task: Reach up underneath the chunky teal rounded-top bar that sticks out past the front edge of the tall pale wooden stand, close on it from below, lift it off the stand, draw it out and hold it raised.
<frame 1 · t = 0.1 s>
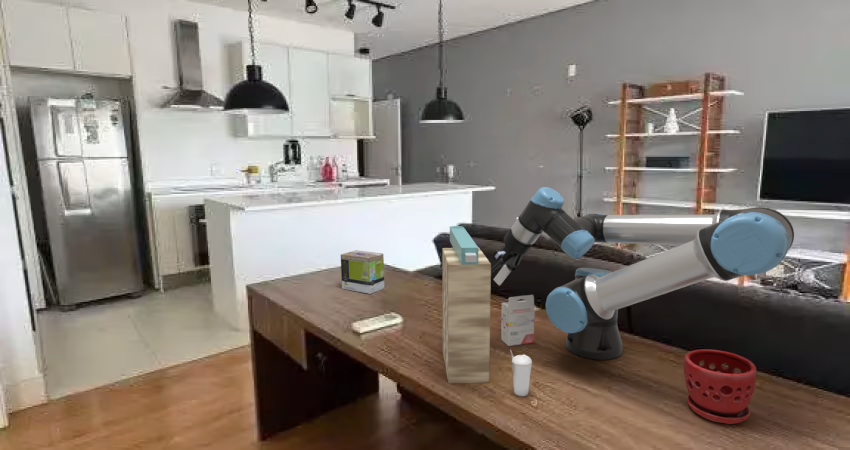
hand: (484, 287, 142), 15 cm above the table, tool tilted 35°, fingers open, 13 cm apart
teal rounded-top bar: (462, 251, 125), point 30 cm above the table, touching stand
plant pot: (714, 412, 103), on the table
tea box: (363, 289, 193), on the table
stand: (464, 366, 125), on the table
milkshake: (519, 393, 111), on the table
ink cartridge box: (517, 342, 140), on the table
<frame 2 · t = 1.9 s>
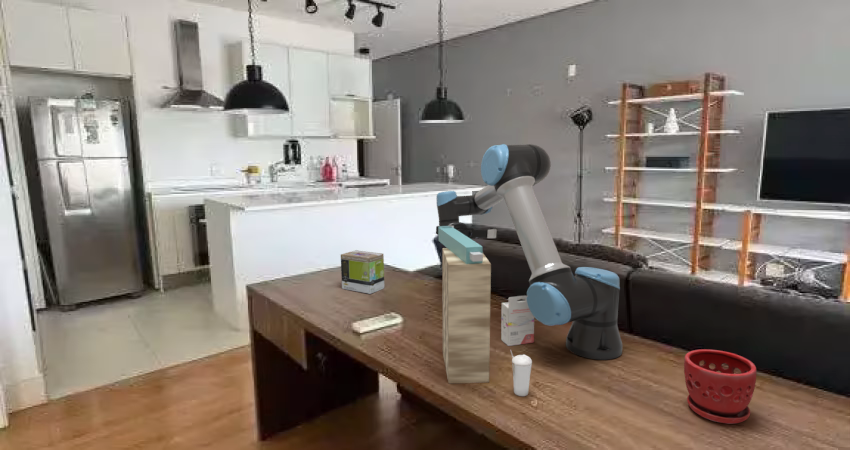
hand: (473, 231, 143), 32 cm above the table, tool horizontal, fingers open, 13 cm apart
teal rounded-top bar: (458, 250, 125), point 30 cm above the table, touching stand
everything else where it was.
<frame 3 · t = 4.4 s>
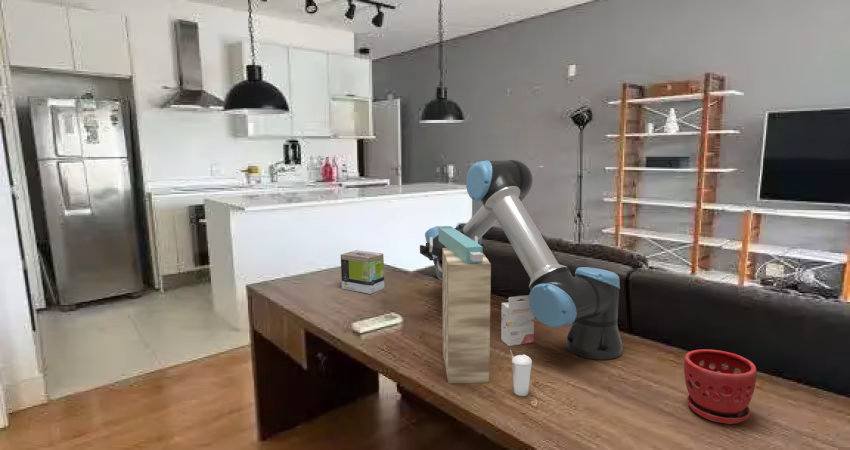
hand: (454, 240, 142), 29 cm above the table, tool pointing upward, fingers open, 13 cm apart
nothing on the table moved.
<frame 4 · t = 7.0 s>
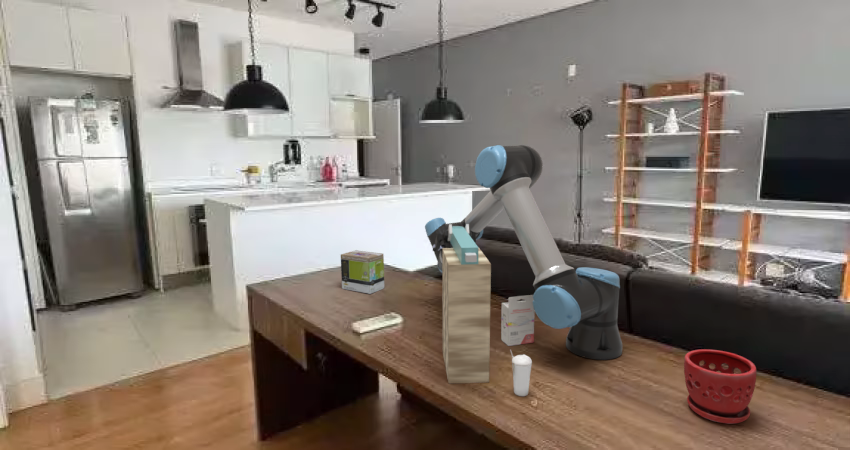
hand: (459, 228, 131), 35 cm above the table, tool pointing upward, fingers closed on teal rounded-top bar, 4 cm apart
teal rounded-top bar: (462, 251, 125), point 30 cm above the table, touching gripper, stand
everything else where it was.
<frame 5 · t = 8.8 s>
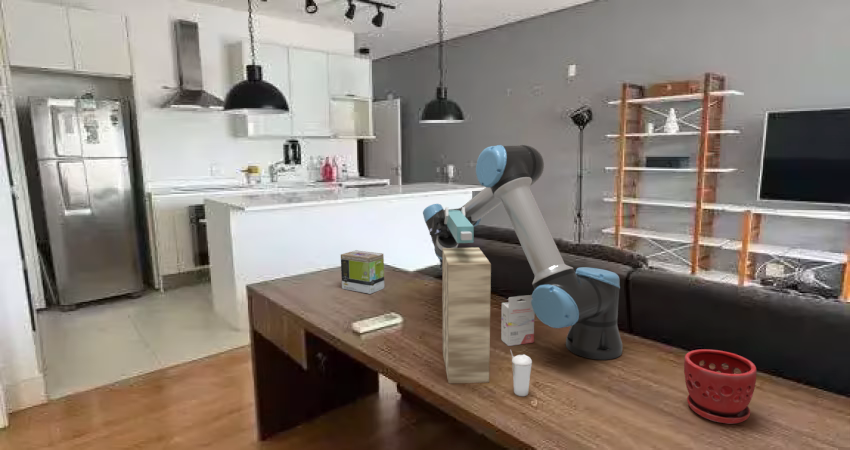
hand: (455, 211, 134), 39 cm above the table, tool pointing upward, fingers closed on teal rounded-top bar, 4 cm apart
teal rounded-top bar: (458, 232, 128), point 34 cm above the table, touching gripper
everything else where it was.
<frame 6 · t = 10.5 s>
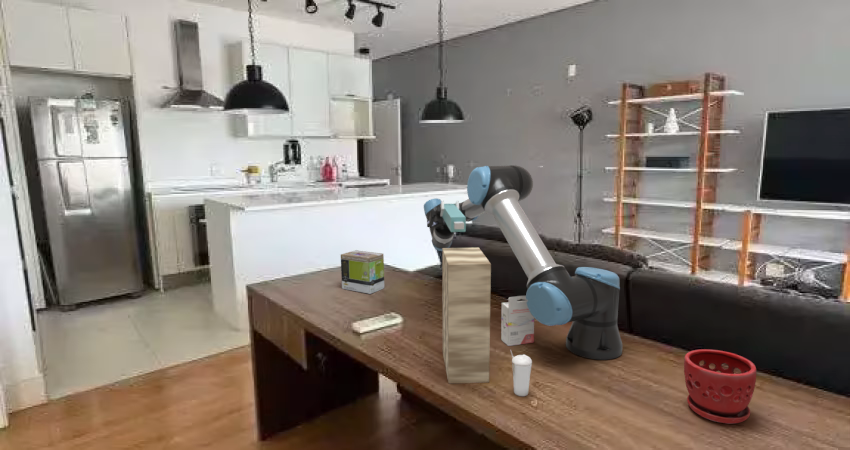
hand: (450, 204, 148), 39 cm above the table, tool pointing upward, fingers closed on teal rounded-top bar, 4 cm apart
teal rounded-top bar: (452, 223, 142), point 34 cm above the table, touching gripper
everything else where it was.
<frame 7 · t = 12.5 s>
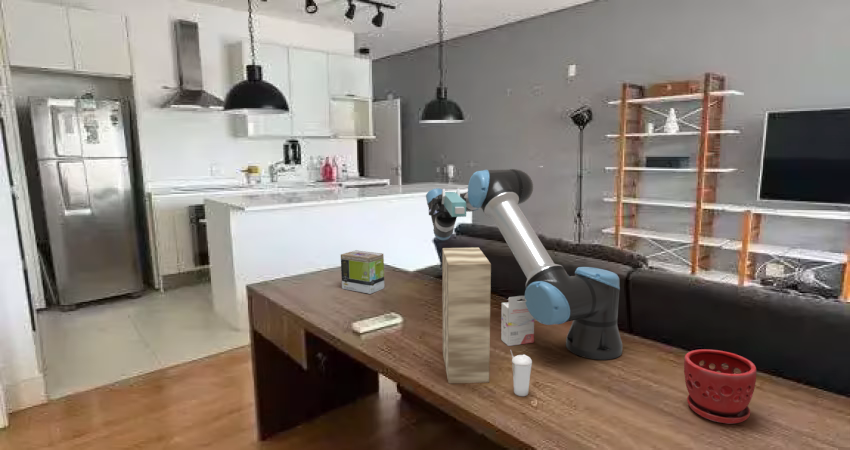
hand: (451, 192, 152), 43 cm above the table, tool pointing upward, fingers closed on teal rounded-top bar, 4 cm apart
teal rounded-top bar: (453, 209, 145), point 38 cm above the table, touching gripper
everything else where it was.
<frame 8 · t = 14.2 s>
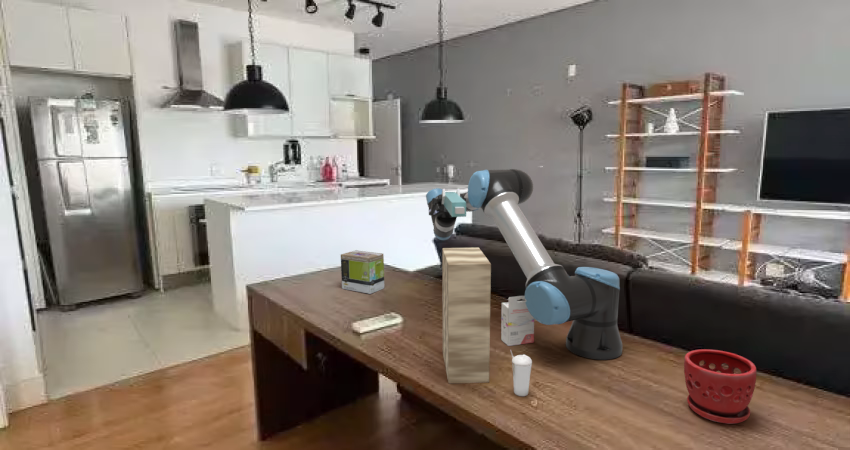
hand: (451, 192, 152), 43 cm above the table, tool pointing upward, fingers closed on teal rounded-top bar, 4 cm apart
teal rounded-top bar: (453, 209, 145), point 38 cm above the table, touching gripper
everything else where it was.
at the end: the gripper is holding teal rounded-top bar; teal rounded-top bar point 38.0 cm above the table; teal rounded-top bar moved 23.4 cm from its start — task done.
